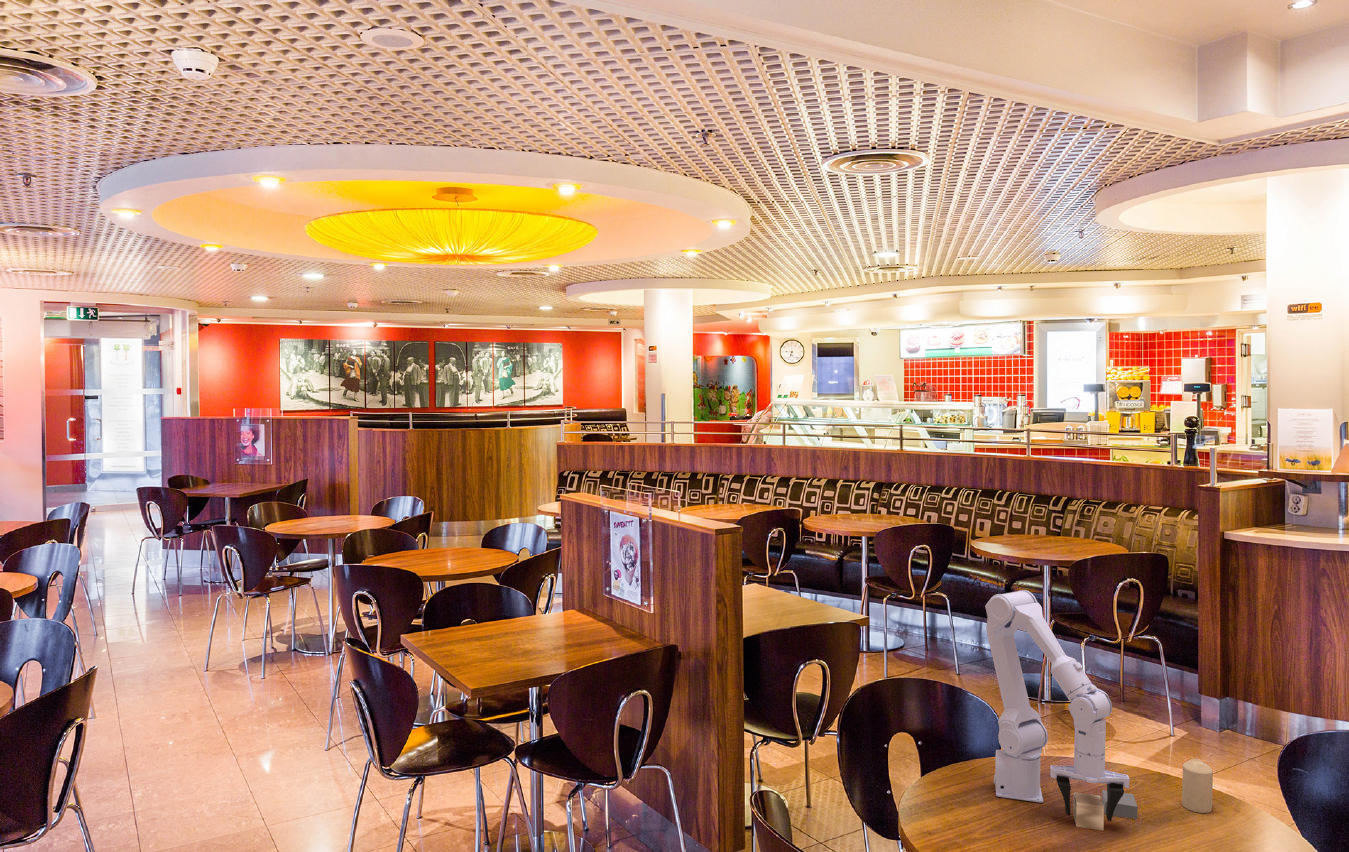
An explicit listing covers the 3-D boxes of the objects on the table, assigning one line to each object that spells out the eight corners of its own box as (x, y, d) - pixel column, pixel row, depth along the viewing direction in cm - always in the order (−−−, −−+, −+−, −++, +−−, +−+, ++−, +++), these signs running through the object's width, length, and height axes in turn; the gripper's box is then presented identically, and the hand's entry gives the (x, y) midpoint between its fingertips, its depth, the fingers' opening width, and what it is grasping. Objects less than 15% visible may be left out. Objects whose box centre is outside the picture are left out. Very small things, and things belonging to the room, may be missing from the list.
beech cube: (1076, 827, 177) (1076, 802, 176) (1073, 815, 181) (1073, 792, 181) (1103, 830, 175) (1104, 806, 175) (1099, 819, 180) (1100, 795, 180)
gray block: (1105, 815, 182) (1105, 801, 182) (1101, 803, 187) (1102, 789, 187) (1137, 820, 180) (1137, 806, 180) (1133, 808, 185) (1133, 794, 185)
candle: (1216, 814, 182) (1217, 767, 182) (1187, 812, 183) (1188, 765, 183) (1205, 802, 187) (1207, 757, 187) (1177, 800, 188) (1179, 754, 188)
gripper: (1053, 753, 176) (1051, 819, 177) (1132, 763, 172) (1131, 830, 172) (1049, 740, 183) (1048, 803, 183) (1126, 749, 178) (1124, 814, 179)
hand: (1088, 815), depth 178 cm, fingers open, 7 cm apart
